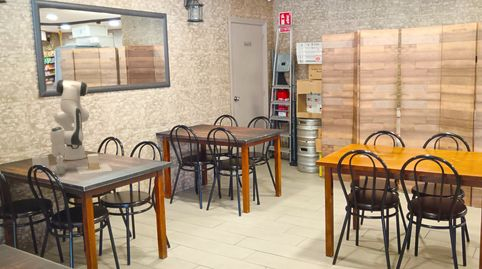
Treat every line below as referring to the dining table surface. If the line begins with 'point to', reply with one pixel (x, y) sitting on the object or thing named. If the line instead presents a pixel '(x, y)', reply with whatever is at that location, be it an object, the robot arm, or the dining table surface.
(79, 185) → the dining table surface
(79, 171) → the cream square board
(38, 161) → the toilet tissue
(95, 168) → the oak tower block
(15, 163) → the dining table surface
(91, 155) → the cream tower block
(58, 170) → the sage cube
